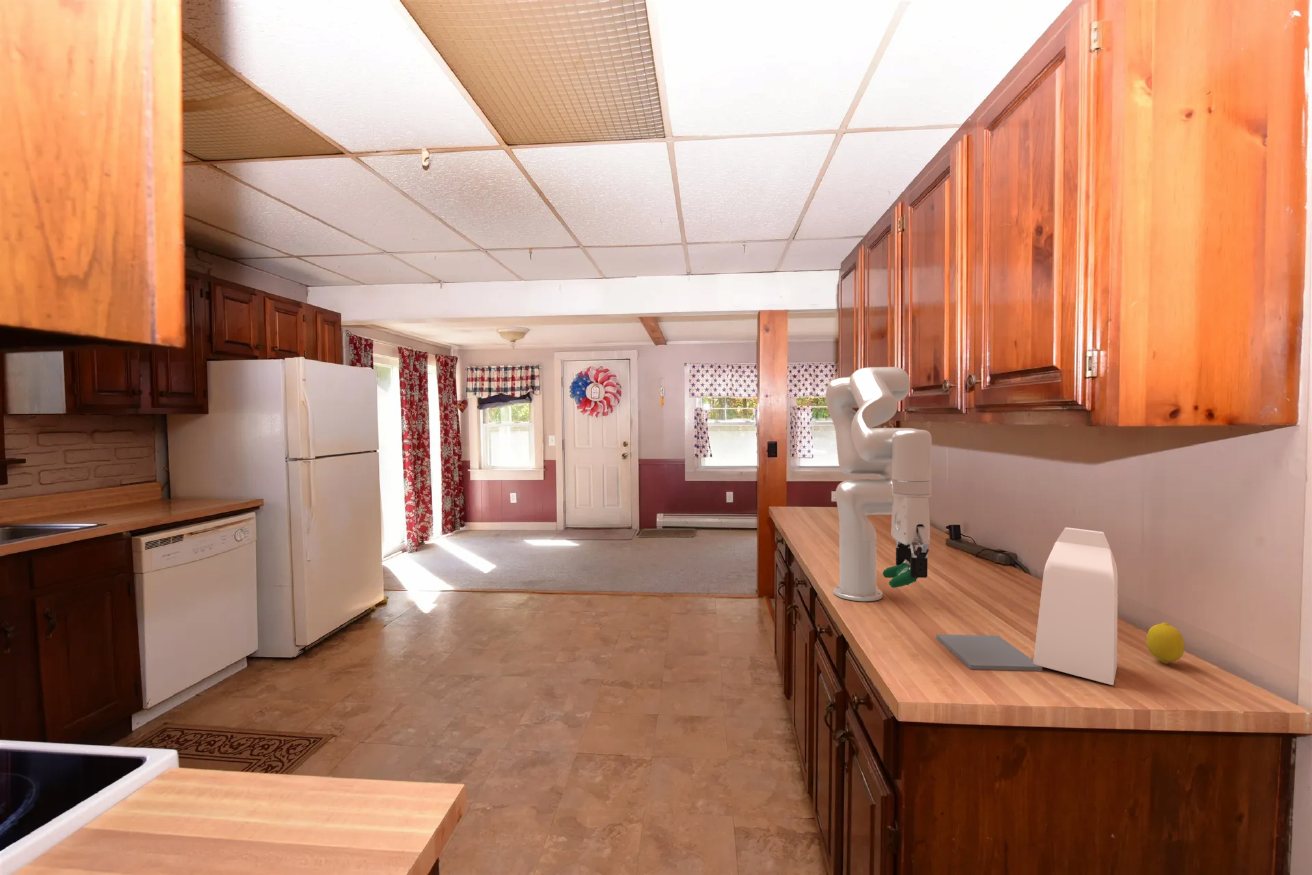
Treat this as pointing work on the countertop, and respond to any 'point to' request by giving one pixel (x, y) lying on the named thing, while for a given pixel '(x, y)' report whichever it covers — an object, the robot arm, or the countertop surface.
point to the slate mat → (987, 652)
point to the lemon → (1165, 642)
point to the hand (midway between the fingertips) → (910, 571)
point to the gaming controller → (899, 575)
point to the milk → (1079, 607)
